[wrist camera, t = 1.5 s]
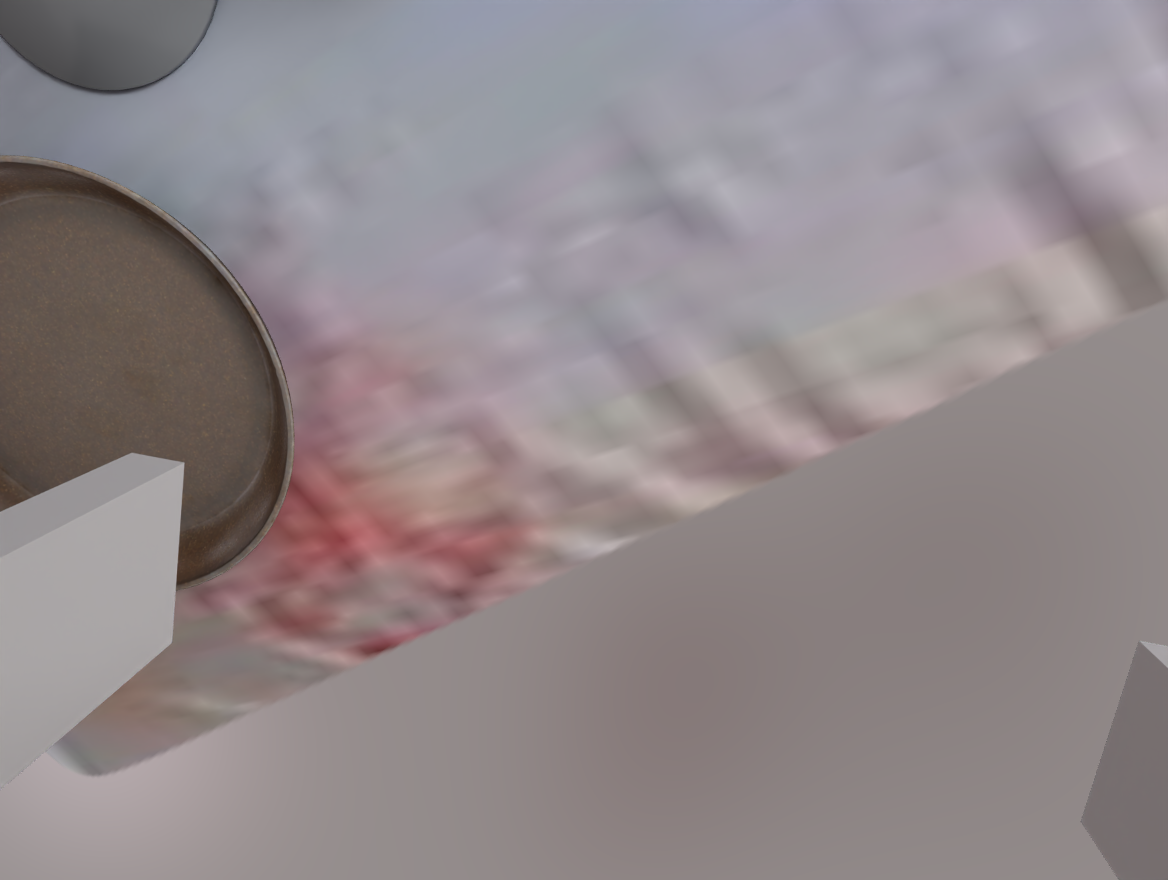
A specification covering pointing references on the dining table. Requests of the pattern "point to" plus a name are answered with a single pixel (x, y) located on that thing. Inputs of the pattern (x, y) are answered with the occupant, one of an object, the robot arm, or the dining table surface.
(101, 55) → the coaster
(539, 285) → the dining table surface
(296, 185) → the dining table surface
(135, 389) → the plant saucer
